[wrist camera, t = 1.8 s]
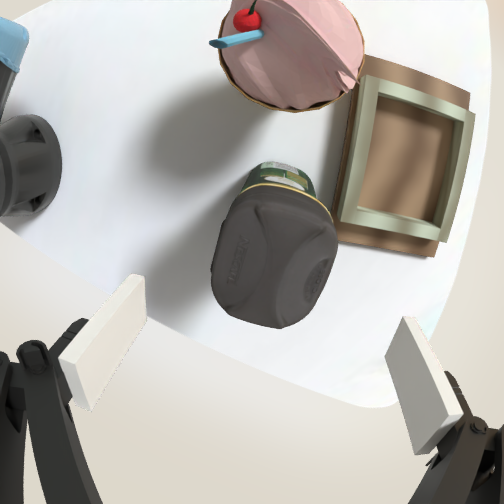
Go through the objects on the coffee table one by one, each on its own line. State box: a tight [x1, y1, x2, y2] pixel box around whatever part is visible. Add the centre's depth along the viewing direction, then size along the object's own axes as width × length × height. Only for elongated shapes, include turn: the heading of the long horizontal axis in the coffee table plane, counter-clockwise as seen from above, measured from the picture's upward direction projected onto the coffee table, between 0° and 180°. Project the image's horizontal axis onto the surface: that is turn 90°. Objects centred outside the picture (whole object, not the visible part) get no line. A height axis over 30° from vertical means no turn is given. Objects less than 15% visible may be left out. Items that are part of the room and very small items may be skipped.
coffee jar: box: [210, 162, 338, 329], centre depth 27 cm, size 10×8×19 cm
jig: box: [330, 54, 475, 258], centre depth 31 cm, size 15×22×4 cm
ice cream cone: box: [209, 0, 364, 113], centre depth 20 cm, size 11×11×20 cm
